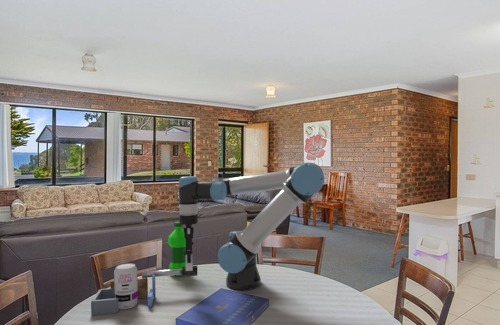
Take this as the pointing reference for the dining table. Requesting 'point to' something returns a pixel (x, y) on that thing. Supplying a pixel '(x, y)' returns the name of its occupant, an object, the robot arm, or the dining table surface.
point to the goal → (104, 302)
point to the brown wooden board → (141, 287)
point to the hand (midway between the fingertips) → (189, 265)
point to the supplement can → (126, 285)
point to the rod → (165, 273)
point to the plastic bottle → (177, 247)
